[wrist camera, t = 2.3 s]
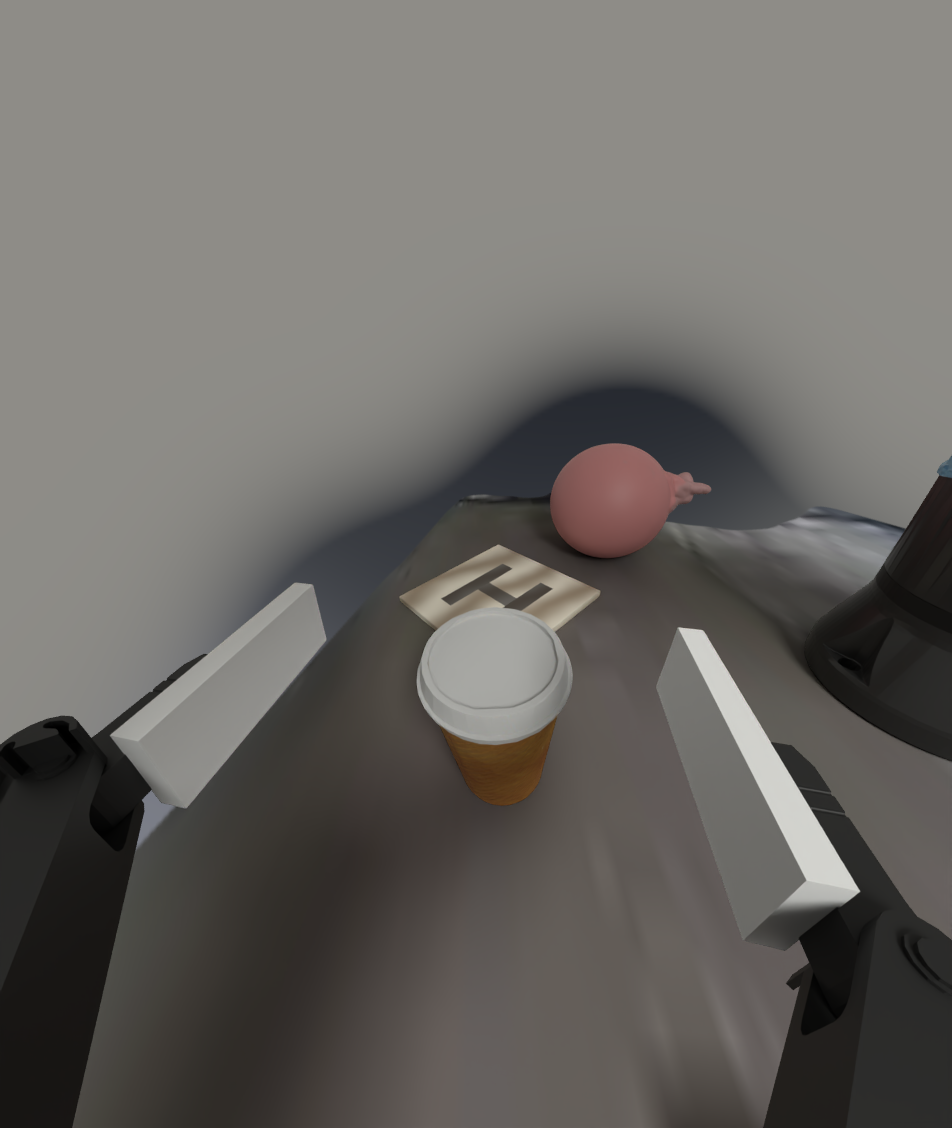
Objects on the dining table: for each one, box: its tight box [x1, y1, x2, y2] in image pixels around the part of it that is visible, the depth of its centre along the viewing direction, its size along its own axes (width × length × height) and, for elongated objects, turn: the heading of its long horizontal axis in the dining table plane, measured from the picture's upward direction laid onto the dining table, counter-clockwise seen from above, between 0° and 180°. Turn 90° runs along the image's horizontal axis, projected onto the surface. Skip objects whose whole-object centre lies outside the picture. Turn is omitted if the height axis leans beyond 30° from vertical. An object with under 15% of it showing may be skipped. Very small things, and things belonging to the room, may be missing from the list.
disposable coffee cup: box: [417, 607, 573, 806], centre depth 24 cm, size 10×10×12 cm
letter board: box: [399, 545, 600, 632], centre depth 45 cm, size 18×18×1 cm
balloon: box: [550, 444, 711, 558], centre depth 48 cm, size 15×20×15 cm
